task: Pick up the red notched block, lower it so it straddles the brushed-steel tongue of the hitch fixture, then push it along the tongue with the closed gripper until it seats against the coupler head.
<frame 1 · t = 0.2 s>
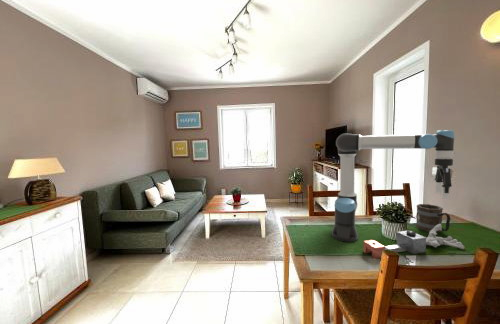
hand: (441, 196, 122), 28 cm above the table, fingers open, 13 cm apart
mug: (432, 230, 143), on the table
white irregular jagged piece: (437, 244, 125), on the table
red notched block: (373, 254, 115), on the table
hitch: (399, 250, 118), on the table
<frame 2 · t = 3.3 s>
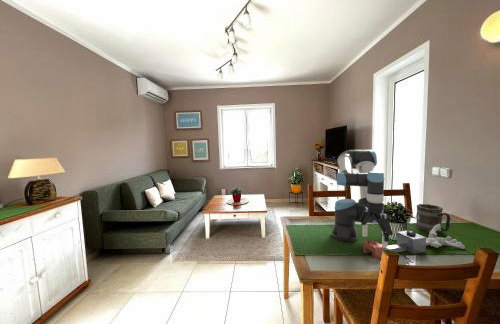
hand: (374, 241, 114), 7 cm above the table, fingers open, 13 cm apart
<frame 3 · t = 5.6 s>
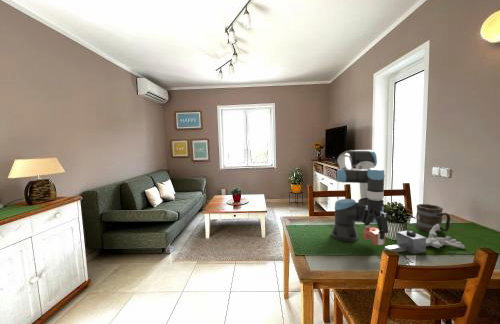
hand: (373, 240, 115), 7 cm above the table, fingers closed on red notched block, 8 cm apart
red notched block: (373, 241, 115), point 7 cm above the table, touching gripper
everything else where it was.
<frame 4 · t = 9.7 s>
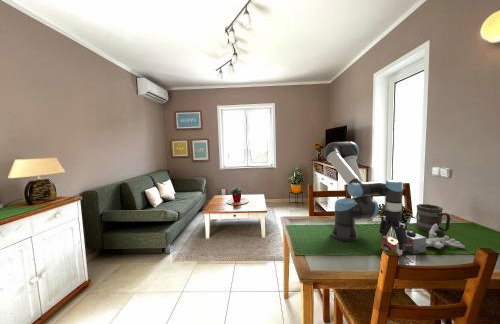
hand: (392, 250, 117), 0 cm above the table, fingers closed on red notched block, 8 cm apart
red notched block: (391, 251, 117), on the table, touching gripper
when the fingers open (0 cm above the table, at t = 9.9 s): red notched block stays where it is, on the table.
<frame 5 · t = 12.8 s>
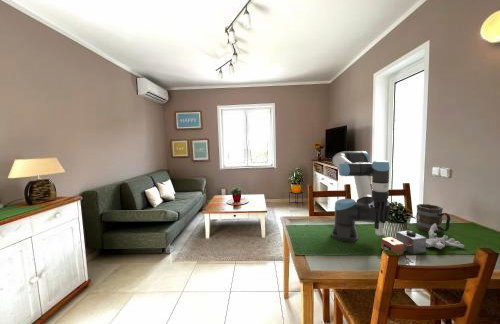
hand: (378, 234, 115), 10 cm above the table, fingers closed
red notched block: (391, 251, 117), on the table
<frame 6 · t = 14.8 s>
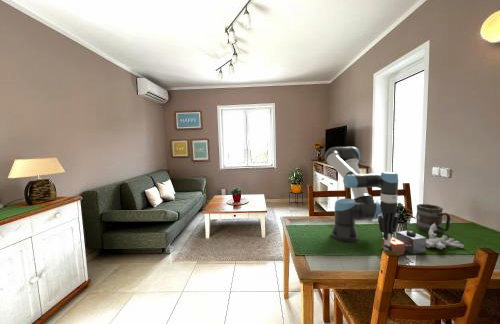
hand: (387, 245, 116), 4 cm above the table, fingers closed
red notched block: (392, 251, 117), on the table, touching gripper
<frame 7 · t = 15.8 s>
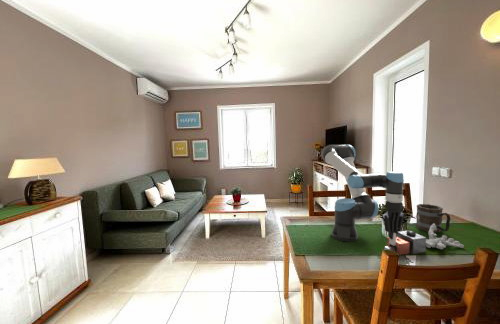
hand: (392, 244, 117), 4 cm above the table, fingers closed
red notched block: (397, 250, 118), on the table, touching gripper
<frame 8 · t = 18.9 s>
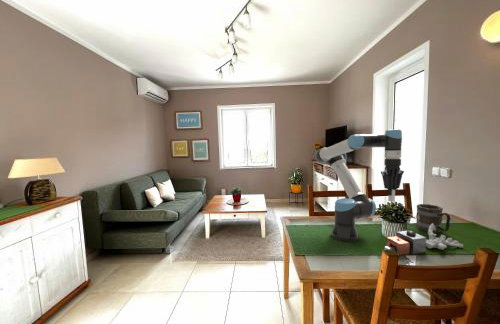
hand: (391, 201, 120), 26 cm above the table, fingers closed
red notched block: (397, 250, 118), on the table
at the end: red notched block 0.9 cm from the hitch (horizontally); red notched block on the table; red notched block tilted 0° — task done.
